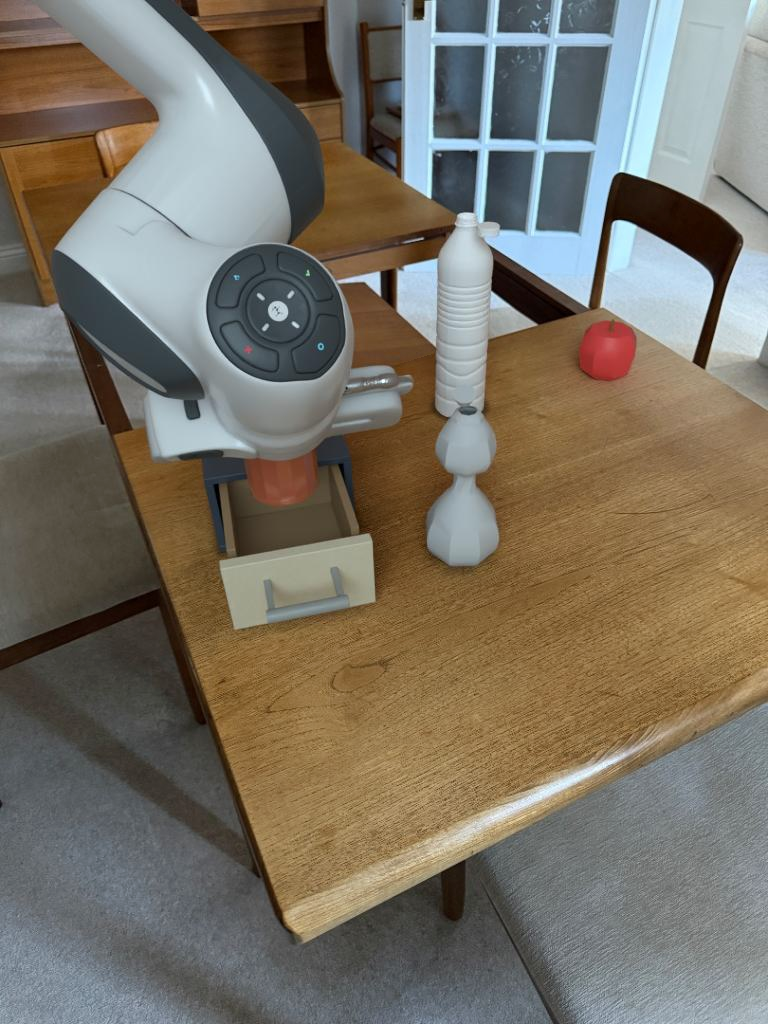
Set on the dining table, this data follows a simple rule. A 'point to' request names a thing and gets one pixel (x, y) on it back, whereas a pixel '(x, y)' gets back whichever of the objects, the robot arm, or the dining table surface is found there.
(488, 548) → the gourd bottle
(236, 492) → the drawer
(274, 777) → the dining table surface
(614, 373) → the apple
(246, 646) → the dining table surface
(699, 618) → the dining table surface
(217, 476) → the cabinet
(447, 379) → the water bottle
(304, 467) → the cup
